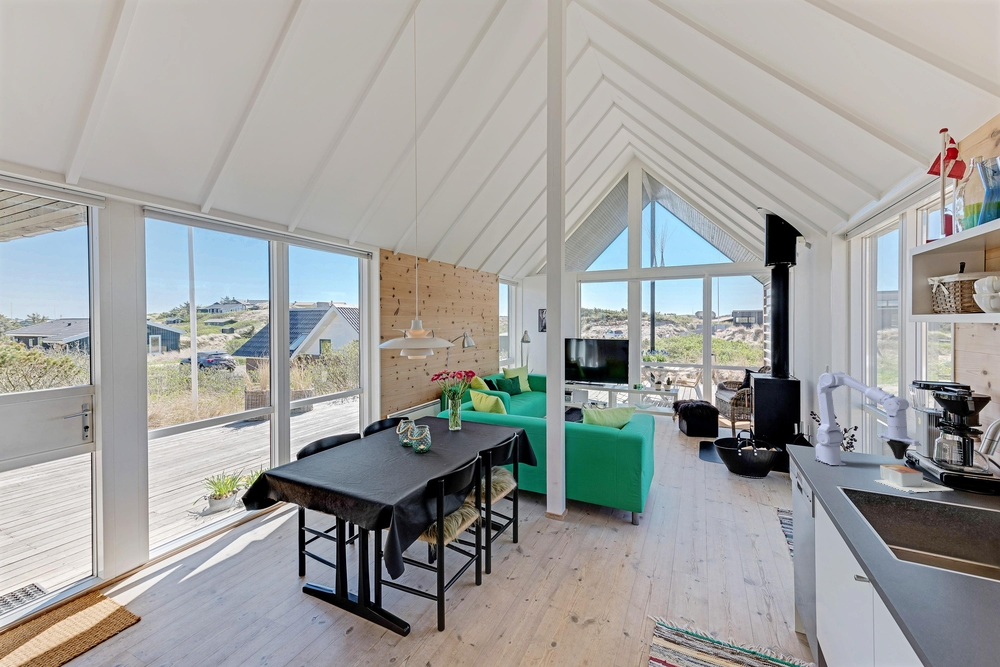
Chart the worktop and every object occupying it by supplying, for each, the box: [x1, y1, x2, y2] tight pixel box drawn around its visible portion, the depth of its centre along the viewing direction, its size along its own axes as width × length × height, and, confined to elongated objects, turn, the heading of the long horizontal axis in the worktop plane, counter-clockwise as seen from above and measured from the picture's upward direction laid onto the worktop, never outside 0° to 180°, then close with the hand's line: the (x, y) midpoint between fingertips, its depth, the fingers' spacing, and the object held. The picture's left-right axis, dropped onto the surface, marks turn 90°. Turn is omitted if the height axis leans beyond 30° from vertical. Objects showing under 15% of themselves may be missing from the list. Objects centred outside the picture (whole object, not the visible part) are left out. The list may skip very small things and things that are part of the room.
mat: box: [873, 479, 954, 493], centre depth 162 cm, size 14×18×1 cm
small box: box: [879, 464, 924, 487], centre depth 166 cm, size 8×6×10 cm
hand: (899, 459), depth 167 cm, fingers closed
